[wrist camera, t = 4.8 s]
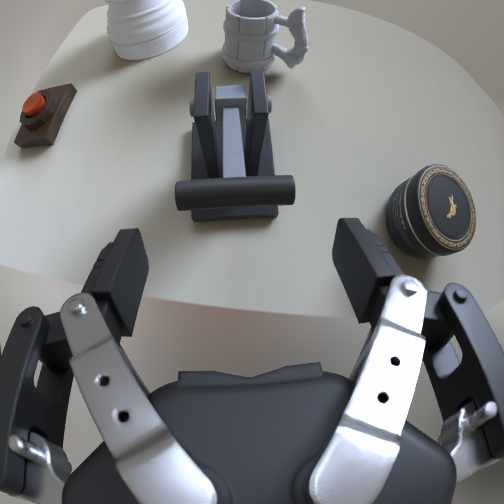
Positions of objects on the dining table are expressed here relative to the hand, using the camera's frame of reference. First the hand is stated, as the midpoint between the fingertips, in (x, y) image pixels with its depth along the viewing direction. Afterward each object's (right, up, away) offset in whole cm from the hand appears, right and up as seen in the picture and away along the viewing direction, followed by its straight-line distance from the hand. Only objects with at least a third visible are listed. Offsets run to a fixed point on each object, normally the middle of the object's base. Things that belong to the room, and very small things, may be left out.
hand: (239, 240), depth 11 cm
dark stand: (-2, +9, +20) cm, 22 cm away
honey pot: (-16, +36, +23) cm, 45 cm away
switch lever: (-1, +6, +6) cm, 9 cm away
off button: (-31, +21, +16) cm, 41 cm away
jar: (+21, +3, +20) cm, 29 cm away
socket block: (-32, +20, +20) cm, 42 cm away
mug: (+2, +27, +22) cm, 35 cm away
